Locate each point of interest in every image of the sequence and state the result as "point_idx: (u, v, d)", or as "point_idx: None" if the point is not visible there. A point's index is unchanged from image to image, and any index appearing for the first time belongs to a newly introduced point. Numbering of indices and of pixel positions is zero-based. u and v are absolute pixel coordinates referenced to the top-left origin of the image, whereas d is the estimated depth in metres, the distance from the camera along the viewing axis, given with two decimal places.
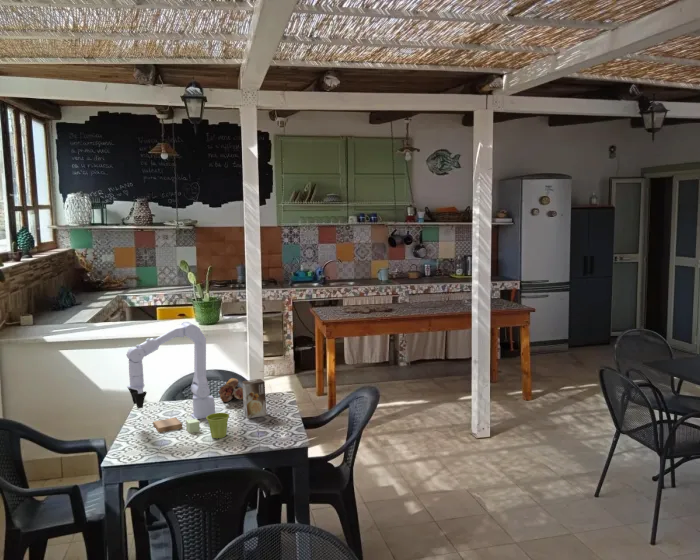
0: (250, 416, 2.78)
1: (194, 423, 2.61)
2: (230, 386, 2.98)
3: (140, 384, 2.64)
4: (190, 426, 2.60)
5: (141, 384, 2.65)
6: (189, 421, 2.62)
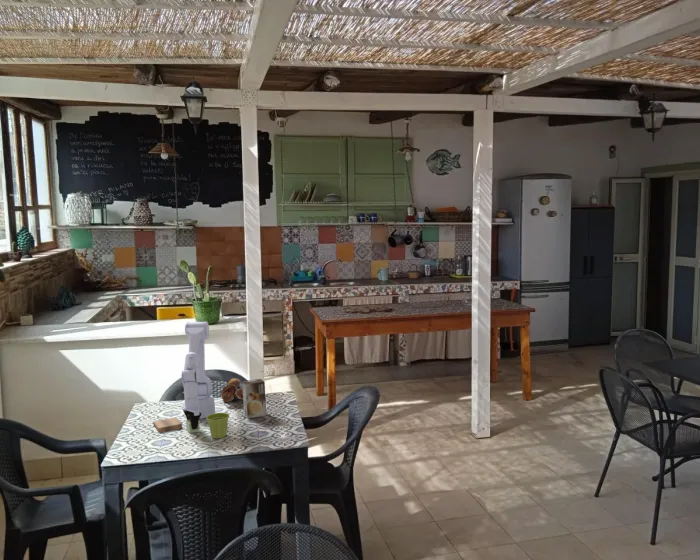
0: (250, 416, 2.78)
1: None
2: (232, 386, 2.98)
3: (195, 406, 2.60)
4: (190, 426, 2.60)
5: (196, 406, 2.61)
6: (189, 421, 2.62)
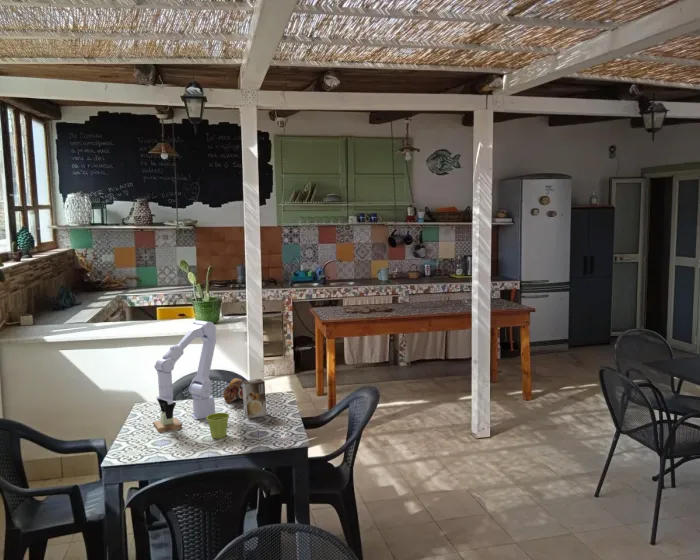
0: (250, 416, 2.78)
1: None
2: (235, 386, 2.98)
3: (169, 395, 2.65)
4: (164, 418, 2.65)
5: (170, 395, 2.66)
6: (163, 413, 2.67)
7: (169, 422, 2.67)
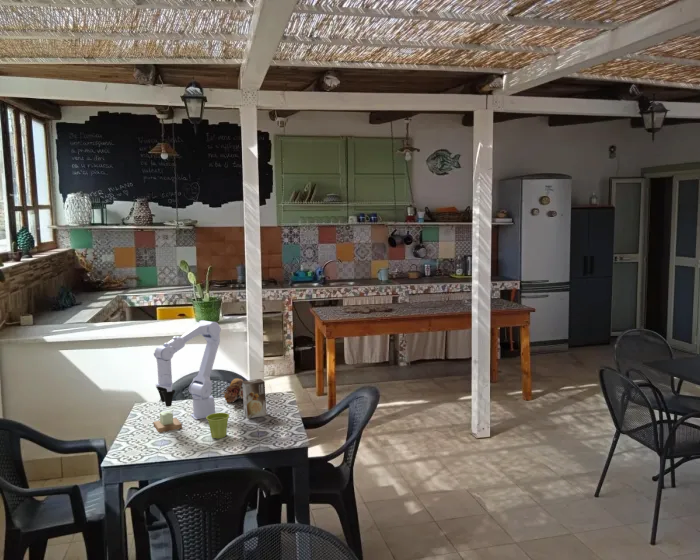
0: (250, 416, 2.78)
1: (168, 415, 2.66)
2: (237, 386, 2.98)
3: (169, 382, 2.65)
4: (164, 418, 2.65)
5: (170, 382, 2.65)
6: (163, 413, 2.67)
7: (169, 422, 2.67)
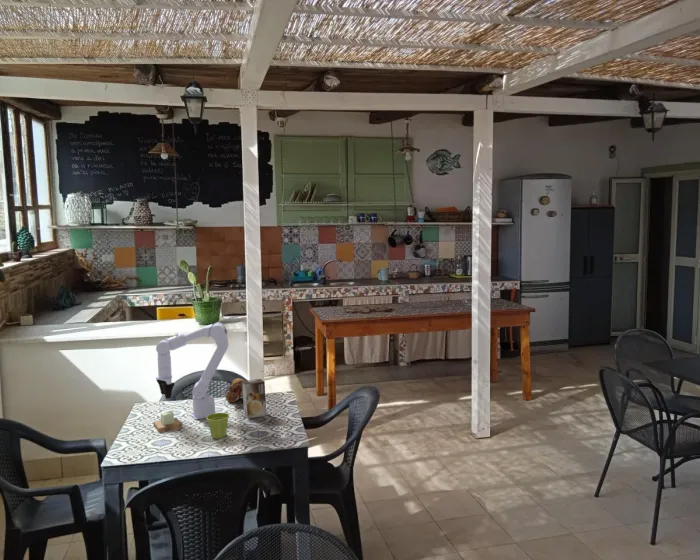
0: (250, 416, 2.78)
1: (168, 415, 2.66)
2: (239, 386, 2.98)
3: (168, 375, 2.76)
4: (165, 418, 2.65)
5: (169, 375, 2.77)
6: (164, 413, 2.67)
7: (170, 422, 2.66)
